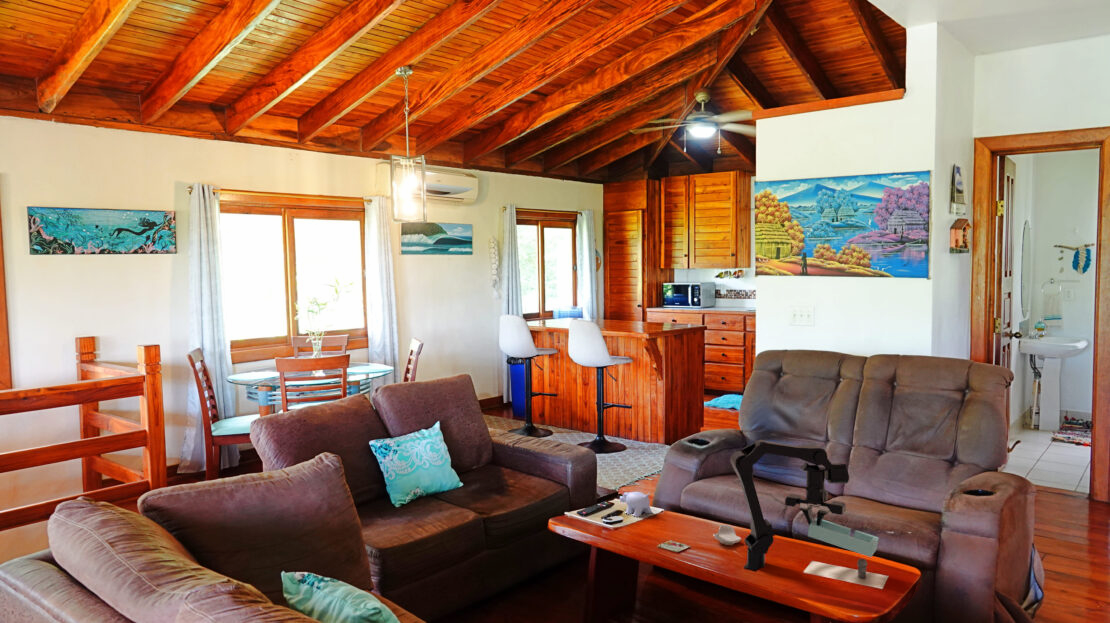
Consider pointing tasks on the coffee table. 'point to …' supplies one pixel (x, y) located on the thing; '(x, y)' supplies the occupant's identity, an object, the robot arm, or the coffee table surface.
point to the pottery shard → (727, 535)
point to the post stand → (848, 573)
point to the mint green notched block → (843, 537)
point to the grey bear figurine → (636, 503)
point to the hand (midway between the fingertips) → (814, 529)
